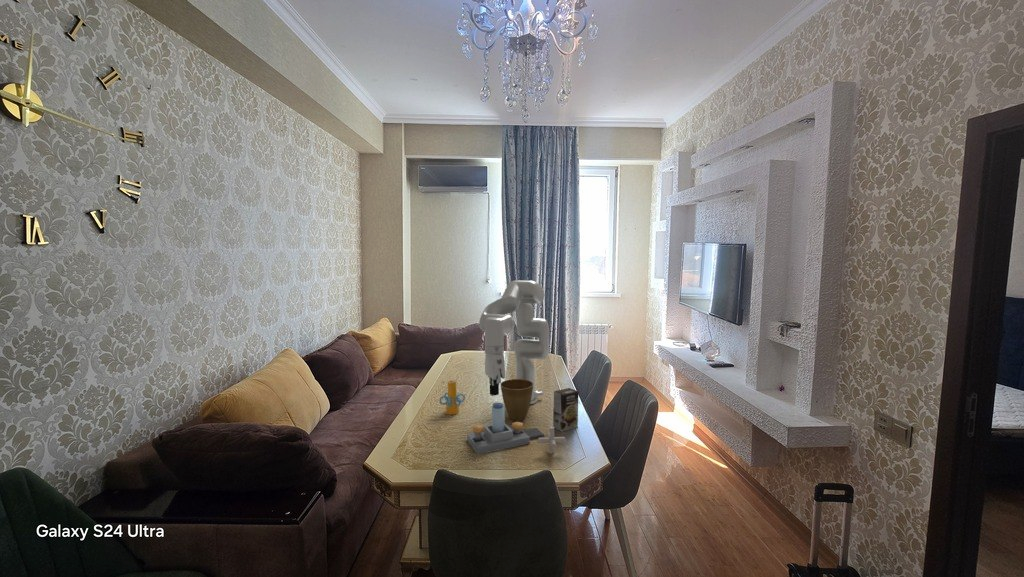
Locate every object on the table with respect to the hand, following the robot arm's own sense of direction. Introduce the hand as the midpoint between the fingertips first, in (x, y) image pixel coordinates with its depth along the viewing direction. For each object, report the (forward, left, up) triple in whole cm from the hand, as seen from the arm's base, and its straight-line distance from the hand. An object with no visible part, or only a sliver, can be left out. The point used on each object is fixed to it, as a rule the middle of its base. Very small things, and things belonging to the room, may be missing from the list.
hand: (494, 394), depth 173 cm
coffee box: (-34, -1, -20) cm, 39 cm away
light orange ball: (-10, 0, -18) cm, 21 cm away
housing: (-2, 0, -20) cm, 20 cm away
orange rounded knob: (+7, 0, -17) cm, 18 cm away
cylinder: (+6, -37, -20) cm, 43 cm away
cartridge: (-2, 0, -17) cm, 17 cm away
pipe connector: (-17, +17, -20) cm, 31 cm away
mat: (-17, 0, -20) cm, 26 cm away
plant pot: (-19, -19, -20) cm, 34 cm away
